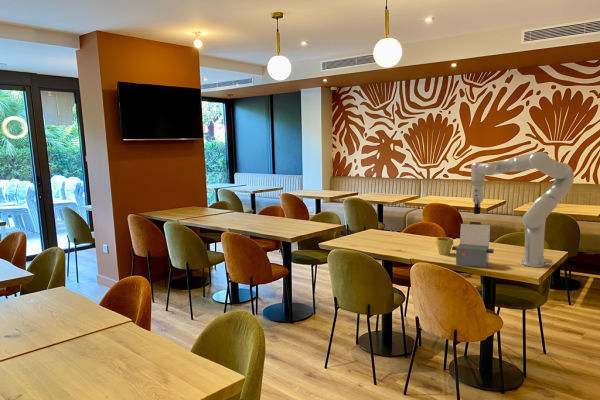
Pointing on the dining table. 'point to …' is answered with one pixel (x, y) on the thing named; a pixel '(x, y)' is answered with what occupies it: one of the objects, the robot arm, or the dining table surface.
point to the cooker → (472, 255)
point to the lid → (475, 234)
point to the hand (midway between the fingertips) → (477, 213)
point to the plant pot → (444, 245)
